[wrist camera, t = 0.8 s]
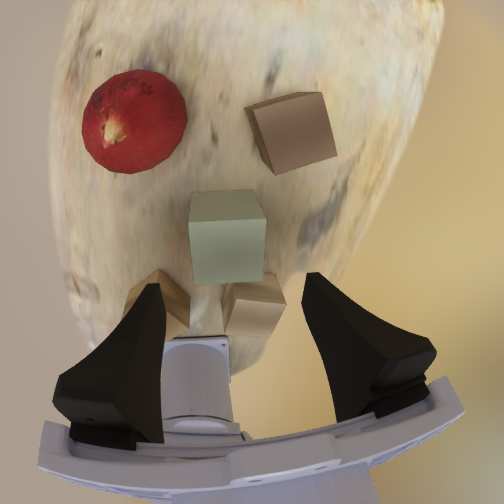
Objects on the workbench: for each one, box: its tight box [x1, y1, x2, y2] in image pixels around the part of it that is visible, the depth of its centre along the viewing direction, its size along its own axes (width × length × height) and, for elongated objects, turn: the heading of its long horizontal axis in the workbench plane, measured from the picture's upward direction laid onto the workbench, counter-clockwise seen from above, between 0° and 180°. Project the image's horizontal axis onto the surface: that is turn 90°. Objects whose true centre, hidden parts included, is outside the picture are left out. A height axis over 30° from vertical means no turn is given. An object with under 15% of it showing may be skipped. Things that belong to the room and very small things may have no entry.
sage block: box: [188, 190, 267, 285], centre depth 18 cm, size 4×4×5 cm
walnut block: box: [244, 92, 337, 176], centre depth 16 cm, size 4×4×4 cm
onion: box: [82, 69, 187, 174], centre depth 12 cm, size 6×6×8 cm
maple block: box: [221, 272, 287, 338], centre depth 23 cm, size 4×4×4 cm
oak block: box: [121, 269, 190, 342], centre depth 22 cm, size 4×4×4 cm
